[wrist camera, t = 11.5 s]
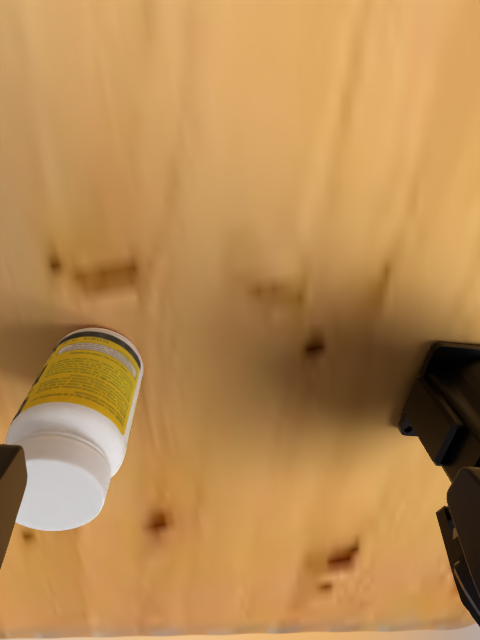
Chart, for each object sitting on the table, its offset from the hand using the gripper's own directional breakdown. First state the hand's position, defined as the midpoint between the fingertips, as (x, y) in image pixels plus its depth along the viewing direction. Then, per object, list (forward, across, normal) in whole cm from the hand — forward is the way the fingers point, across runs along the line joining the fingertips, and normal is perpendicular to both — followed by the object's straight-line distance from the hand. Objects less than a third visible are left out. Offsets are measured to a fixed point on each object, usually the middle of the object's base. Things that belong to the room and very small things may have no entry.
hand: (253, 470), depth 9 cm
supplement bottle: (+13, +6, +7) cm, 16 cm away
